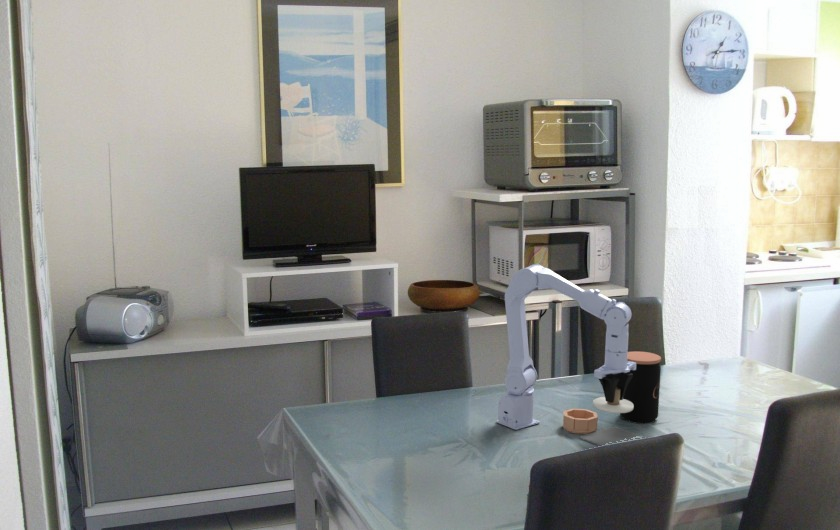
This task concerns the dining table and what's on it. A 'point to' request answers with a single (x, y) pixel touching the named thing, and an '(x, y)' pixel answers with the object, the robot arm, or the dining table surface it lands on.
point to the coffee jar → (643, 387)
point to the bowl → (580, 421)
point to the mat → (608, 436)
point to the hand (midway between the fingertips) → (614, 400)
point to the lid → (613, 404)
